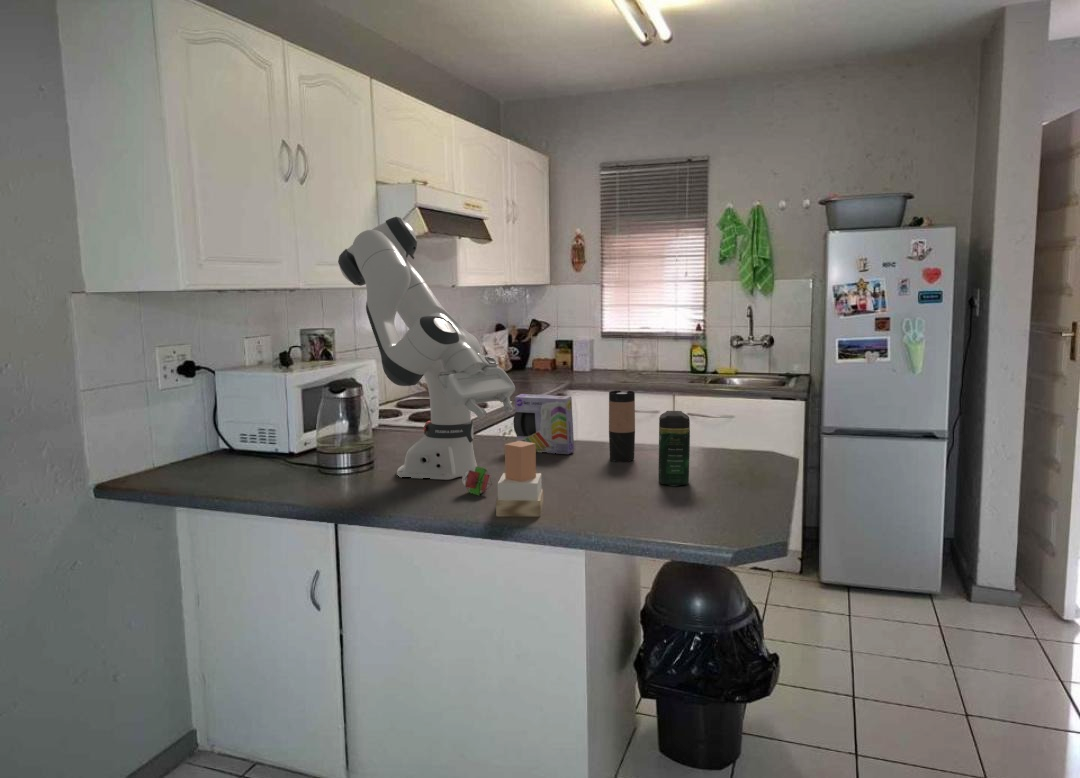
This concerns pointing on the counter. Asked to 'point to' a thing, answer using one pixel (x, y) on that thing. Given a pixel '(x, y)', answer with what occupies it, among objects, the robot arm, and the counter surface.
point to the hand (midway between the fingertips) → (496, 413)
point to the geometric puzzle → (476, 480)
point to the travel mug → (621, 425)
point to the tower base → (519, 507)
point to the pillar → (520, 461)
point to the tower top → (519, 489)
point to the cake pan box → (545, 422)
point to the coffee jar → (674, 448)
